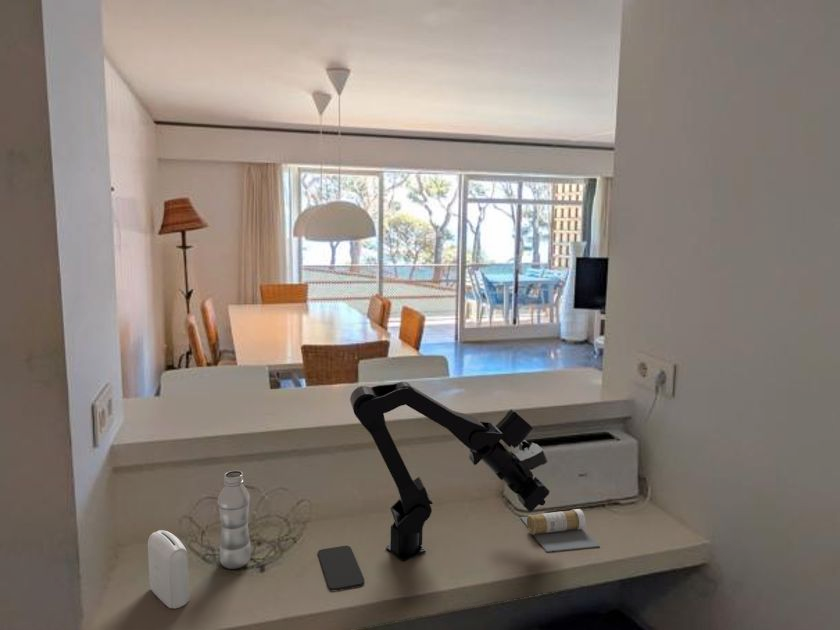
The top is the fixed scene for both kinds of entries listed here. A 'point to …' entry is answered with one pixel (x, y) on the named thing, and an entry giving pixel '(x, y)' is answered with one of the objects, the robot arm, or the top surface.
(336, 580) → the phone
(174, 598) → the photo printer
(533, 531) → the sprinkles bottle
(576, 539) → the mat
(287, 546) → the top surface
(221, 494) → the plastic bottle
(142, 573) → the top surface
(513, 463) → the robot arm
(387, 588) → the top surface
